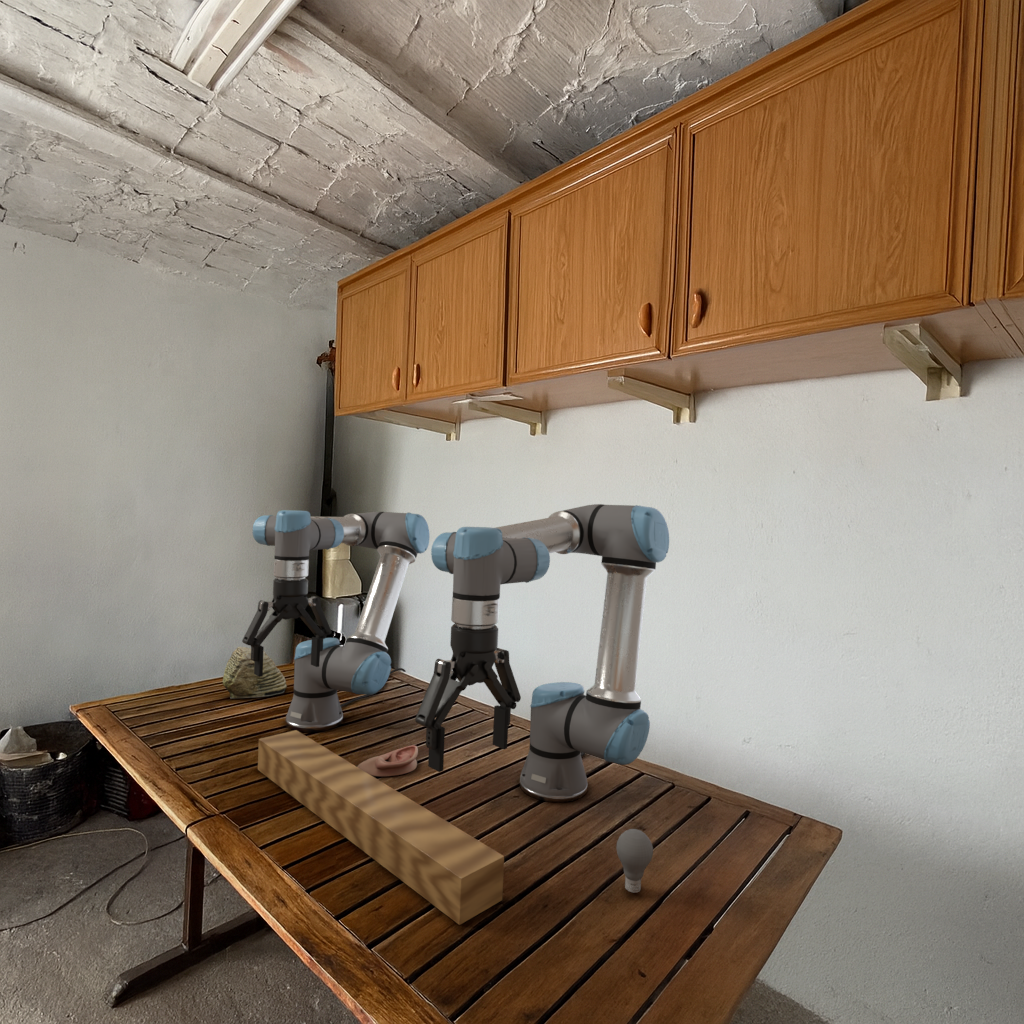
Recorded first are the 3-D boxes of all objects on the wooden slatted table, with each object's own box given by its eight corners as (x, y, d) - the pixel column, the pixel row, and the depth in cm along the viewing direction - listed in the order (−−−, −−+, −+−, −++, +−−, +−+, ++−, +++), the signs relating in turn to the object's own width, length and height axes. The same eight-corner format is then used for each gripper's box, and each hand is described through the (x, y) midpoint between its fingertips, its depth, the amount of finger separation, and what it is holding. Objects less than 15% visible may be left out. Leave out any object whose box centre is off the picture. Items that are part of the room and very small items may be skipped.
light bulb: (610, 879, 108) (613, 822, 108) (644, 879, 109) (647, 822, 109) (619, 902, 102) (622, 840, 102) (655, 901, 103) (658, 840, 103)
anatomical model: (351, 756, 145) (372, 738, 156) (350, 773, 145) (371, 754, 156) (406, 763, 142) (423, 744, 154) (405, 780, 143) (422, 760, 154)
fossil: (218, 695, 195) (220, 647, 195) (278, 685, 208) (279, 640, 207) (228, 703, 189) (230, 653, 188) (289, 692, 201) (290, 645, 201)
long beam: (257, 769, 145) (258, 738, 145) (295, 759, 152) (296, 729, 152) (459, 925, 95) (461, 878, 95) (502, 900, 102) (504, 856, 102)
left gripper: (242, 583, 133) (239, 683, 133) (348, 576, 151) (344, 665, 151) (228, 579, 138) (225, 675, 139) (332, 573, 156) (328, 658, 157)
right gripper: (426, 638, 89) (420, 788, 89) (544, 620, 107) (539, 744, 107) (395, 629, 94) (389, 770, 95) (513, 613, 112) (508, 732, 112)
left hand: (287, 670), depth 145 cm, fingers open, 13 cm apart
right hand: (469, 757), depth 101 cm, fingers open, 13 cm apart
